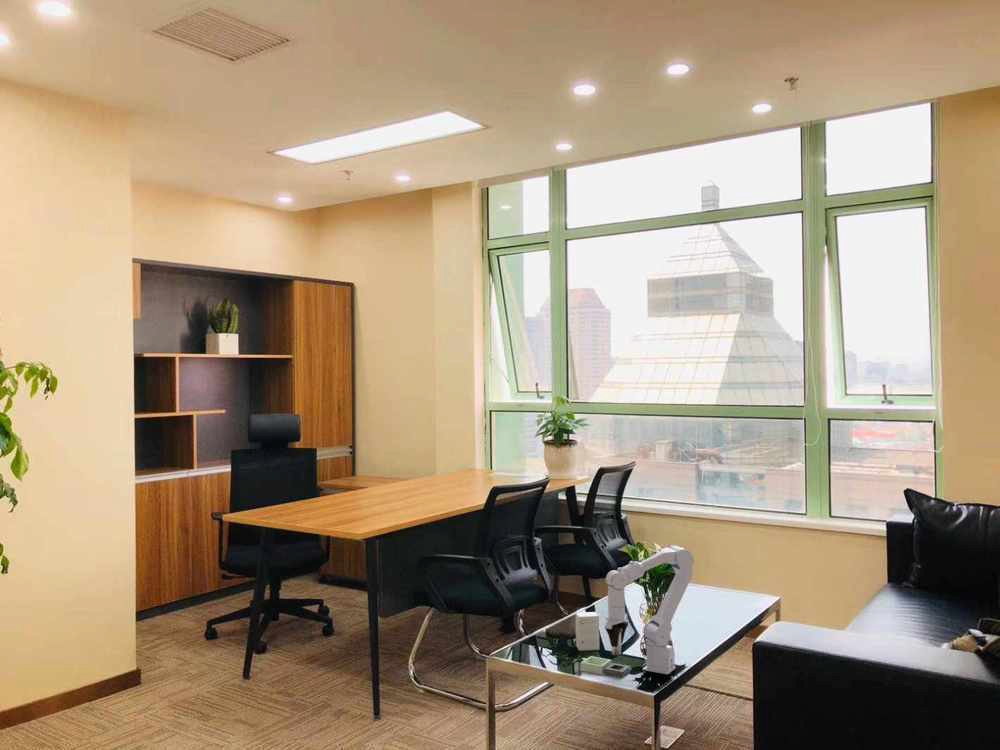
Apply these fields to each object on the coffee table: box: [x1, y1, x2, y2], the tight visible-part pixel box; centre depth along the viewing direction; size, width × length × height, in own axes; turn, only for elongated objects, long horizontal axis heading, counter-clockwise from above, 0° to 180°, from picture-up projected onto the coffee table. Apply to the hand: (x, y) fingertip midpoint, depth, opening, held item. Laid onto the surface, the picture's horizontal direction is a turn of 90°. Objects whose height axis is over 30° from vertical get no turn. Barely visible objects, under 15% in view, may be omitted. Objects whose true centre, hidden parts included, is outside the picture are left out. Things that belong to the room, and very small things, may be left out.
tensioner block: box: [603, 662, 631, 678], centre depth 287 cm, size 7×7×2 cm
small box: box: [575, 611, 600, 651], centre depth 316 cm, size 8×6×13 cm
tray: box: [580, 655, 612, 675], centre depth 291 cm, size 8×8×3 cm
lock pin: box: [611, 626, 622, 656], centre depth 287 cm, size 4×4×9 cm
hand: (616, 644), depth 287 cm, fingers closed on lock pin, 4 cm apart
